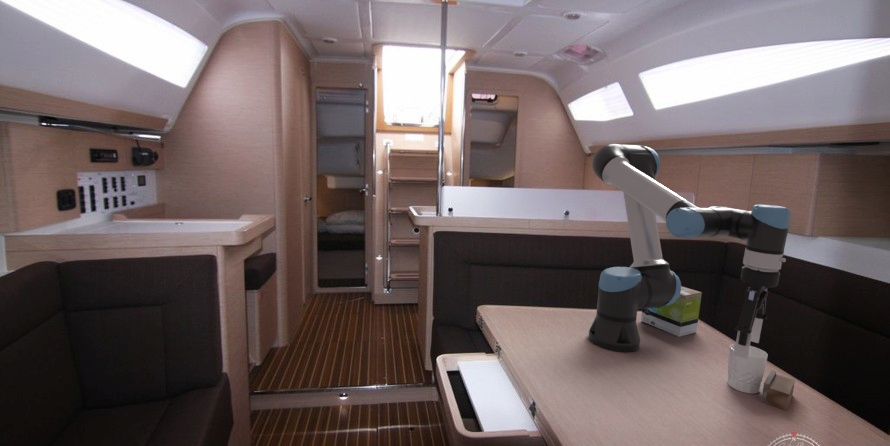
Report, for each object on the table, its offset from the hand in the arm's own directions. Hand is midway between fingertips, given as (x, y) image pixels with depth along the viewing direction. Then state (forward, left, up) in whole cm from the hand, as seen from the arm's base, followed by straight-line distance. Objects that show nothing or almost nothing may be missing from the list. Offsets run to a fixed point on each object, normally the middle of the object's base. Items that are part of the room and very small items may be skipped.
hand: (746, 348), depth 107 cm
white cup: (0, 0, -10) cm, 10 cm away
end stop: (+7, 0, -10) cm, 12 cm away
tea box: (-27, +29, -10) cm, 41 cm away
